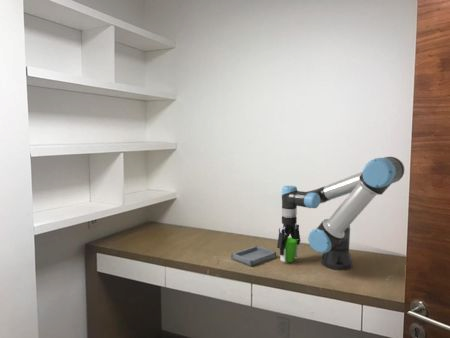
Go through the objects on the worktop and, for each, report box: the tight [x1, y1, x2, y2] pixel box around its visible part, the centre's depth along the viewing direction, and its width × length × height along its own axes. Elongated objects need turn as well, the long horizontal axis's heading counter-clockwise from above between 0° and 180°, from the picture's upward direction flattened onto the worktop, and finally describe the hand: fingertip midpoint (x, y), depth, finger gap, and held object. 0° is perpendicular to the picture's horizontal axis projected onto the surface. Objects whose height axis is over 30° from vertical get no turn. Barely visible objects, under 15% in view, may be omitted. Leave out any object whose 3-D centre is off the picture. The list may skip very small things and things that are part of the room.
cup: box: [282, 236, 298, 263], centre depth 185 cm, size 9×9×11 cm
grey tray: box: [230, 245, 277, 268], centre depth 190 cm, size 14×19×3 cm
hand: (288, 258), depth 186 cm, fingers closed on cup, 9 cm apart
